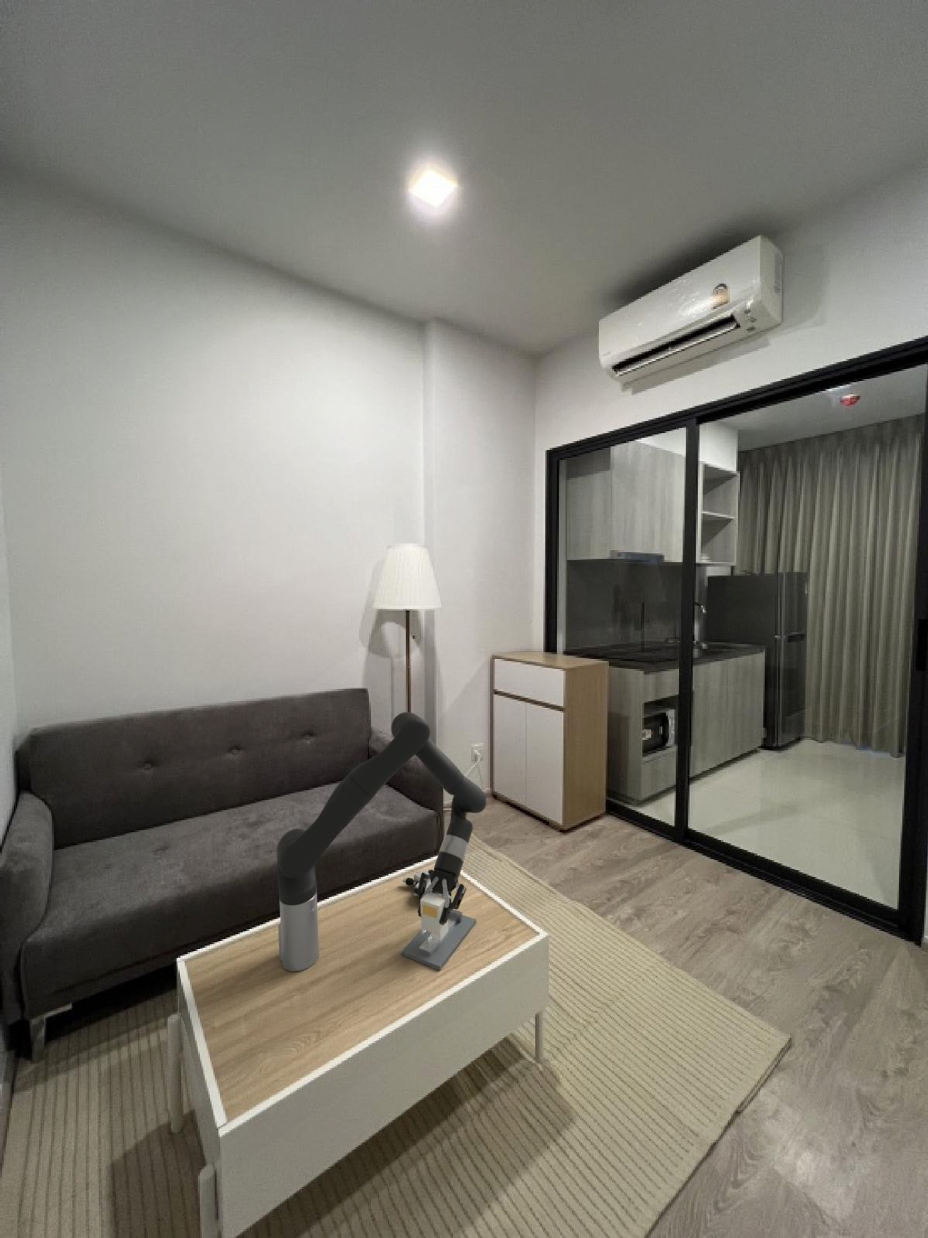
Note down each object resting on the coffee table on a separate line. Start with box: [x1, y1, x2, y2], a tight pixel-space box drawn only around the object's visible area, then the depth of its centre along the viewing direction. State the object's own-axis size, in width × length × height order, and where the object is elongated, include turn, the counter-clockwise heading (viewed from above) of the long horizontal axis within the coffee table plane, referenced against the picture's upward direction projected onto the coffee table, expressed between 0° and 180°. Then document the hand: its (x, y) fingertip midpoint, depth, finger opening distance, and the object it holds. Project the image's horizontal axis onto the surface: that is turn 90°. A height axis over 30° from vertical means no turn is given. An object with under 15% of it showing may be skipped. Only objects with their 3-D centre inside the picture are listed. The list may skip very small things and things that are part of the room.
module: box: [419, 893, 448, 941], centre depth 130 cm, size 6×4×9 cm
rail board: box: [401, 914, 477, 971], centre depth 133 cm, size 12×20×1 cm, turn 152°
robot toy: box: [401, 868, 443, 900], centre depth 155 cm, size 12×4×15 cm
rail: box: [419, 909, 463, 956], centre depth 133 cm, size 5×16×2 cm, turn 152°
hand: (430, 920), depth 129 cm, fingers closed on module, 6 cm apart
